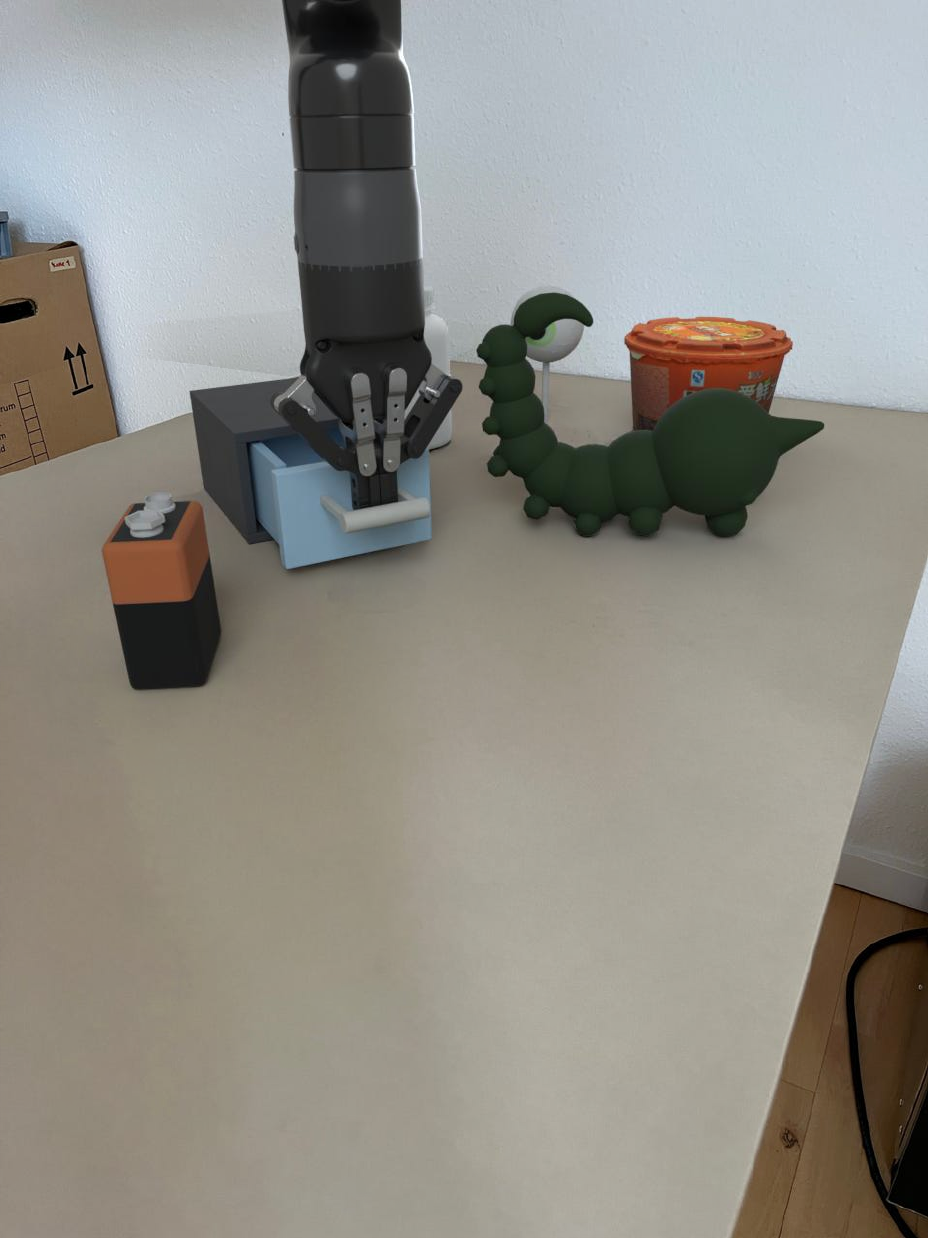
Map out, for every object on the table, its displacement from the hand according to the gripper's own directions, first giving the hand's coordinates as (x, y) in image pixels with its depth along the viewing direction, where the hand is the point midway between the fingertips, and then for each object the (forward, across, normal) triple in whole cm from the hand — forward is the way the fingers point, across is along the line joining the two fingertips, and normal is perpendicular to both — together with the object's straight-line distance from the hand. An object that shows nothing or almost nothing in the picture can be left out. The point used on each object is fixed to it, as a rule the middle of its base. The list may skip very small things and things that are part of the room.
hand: (376, 521), depth 64 cm
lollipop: (+5, +28, +23) cm, 37 cm away
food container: (+5, +42, +16) cm, 45 cm away
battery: (+5, -15, -5) cm, 16 cm away
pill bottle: (+5, +16, +29) cm, 34 cm away
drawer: (+4, 0, +7) cm, 8 cm away
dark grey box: (+4, 0, +18) cm, 19 cm away
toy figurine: (+5, +22, -1) cm, 22 cm away
